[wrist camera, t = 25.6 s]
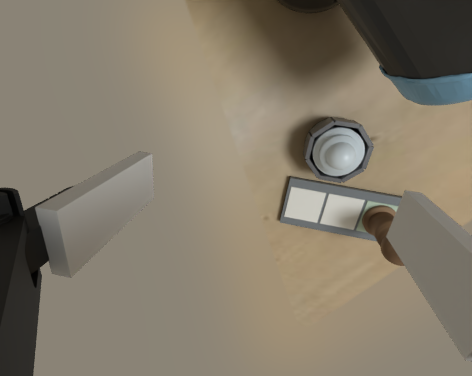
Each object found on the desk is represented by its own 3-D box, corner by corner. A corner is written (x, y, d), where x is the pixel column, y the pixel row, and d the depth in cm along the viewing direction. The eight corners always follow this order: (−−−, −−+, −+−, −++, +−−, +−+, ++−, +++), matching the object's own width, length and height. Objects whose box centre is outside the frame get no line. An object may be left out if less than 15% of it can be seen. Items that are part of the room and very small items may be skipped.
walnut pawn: (368, 202, 44) (393, 237, 34) (402, 208, 44) (437, 246, 34) (357, 230, 46) (378, 270, 37) (389, 236, 46) (419, 278, 36)
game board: (290, 176, 45) (290, 178, 44) (408, 197, 44) (411, 200, 43) (279, 220, 49) (279, 222, 48) (388, 241, 47) (390, 244, 46)
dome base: (311, 113, 41) (315, 117, 37) (370, 122, 40) (380, 127, 36) (298, 166, 44) (300, 175, 40) (351, 176, 44) (359, 186, 40)
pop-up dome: (318, 122, 39) (324, 128, 34) (367, 130, 38) (380, 138, 33) (306, 167, 42) (310, 179, 37) (352, 175, 41) (362, 188, 36)
